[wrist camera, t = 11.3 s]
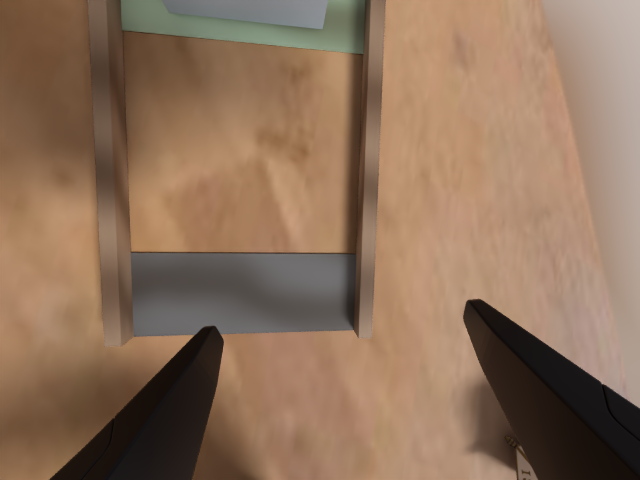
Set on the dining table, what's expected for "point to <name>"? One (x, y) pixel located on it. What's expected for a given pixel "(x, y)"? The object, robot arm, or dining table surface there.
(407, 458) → the dining table surface
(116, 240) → the channel
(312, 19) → the slate block
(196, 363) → the robot arm
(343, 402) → the dining table surface
